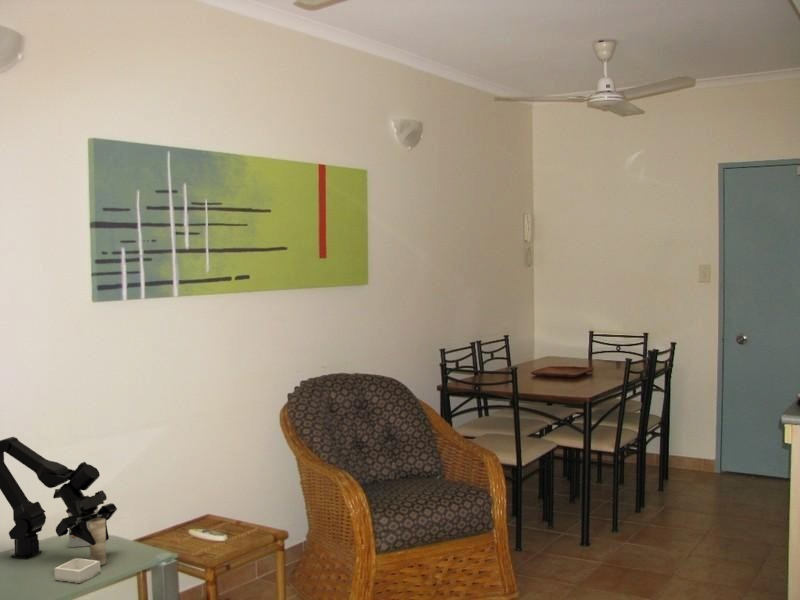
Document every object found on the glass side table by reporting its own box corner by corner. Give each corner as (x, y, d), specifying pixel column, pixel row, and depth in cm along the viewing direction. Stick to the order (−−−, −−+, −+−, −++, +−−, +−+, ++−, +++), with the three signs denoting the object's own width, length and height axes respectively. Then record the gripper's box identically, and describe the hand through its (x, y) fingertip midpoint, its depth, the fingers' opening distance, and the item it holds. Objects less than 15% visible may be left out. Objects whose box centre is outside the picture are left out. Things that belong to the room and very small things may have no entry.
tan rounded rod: (87, 565, 241) (86, 521, 241) (97, 559, 245) (96, 517, 245) (99, 566, 240) (98, 523, 239) (109, 561, 244) (108, 518, 243)
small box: (99, 539, 265) (98, 500, 265) (95, 546, 259) (94, 505, 258) (73, 541, 264) (72, 501, 263) (68, 547, 258) (67, 507, 257)
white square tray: (54, 580, 230) (54, 568, 230) (76, 569, 238) (75, 557, 238) (79, 583, 227) (79, 571, 227) (100, 572, 235) (100, 561, 235)
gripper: (61, 491, 235) (88, 535, 230) (112, 477, 252) (138, 517, 247) (43, 514, 240) (70, 557, 235) (95, 498, 256) (120, 538, 251)
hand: (101, 542), depth 242 cm, fingers closed on tan rounded rod, 4 cm apart
